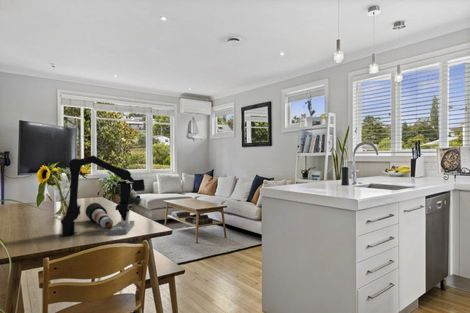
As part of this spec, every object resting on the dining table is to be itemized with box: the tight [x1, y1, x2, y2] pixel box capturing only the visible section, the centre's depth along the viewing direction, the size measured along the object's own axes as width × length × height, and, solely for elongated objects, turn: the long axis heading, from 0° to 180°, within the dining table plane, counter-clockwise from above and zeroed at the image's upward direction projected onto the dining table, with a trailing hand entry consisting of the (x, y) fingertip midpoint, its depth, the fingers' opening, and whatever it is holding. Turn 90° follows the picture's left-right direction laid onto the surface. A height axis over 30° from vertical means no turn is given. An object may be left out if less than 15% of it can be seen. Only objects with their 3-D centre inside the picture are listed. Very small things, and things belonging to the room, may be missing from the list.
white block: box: [120, 211, 131, 224], centre depth 169 cm, size 4×4×8 cm
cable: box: [85, 202, 114, 230], centre depth 178 cm, size 10×34×10 cm, turn 39°
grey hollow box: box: [109, 220, 135, 236], centre depth 163 cm, size 20×8×4 cm, turn 7°
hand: (125, 219), depth 169 cm, fingers closed on white block, 4 cm apart
